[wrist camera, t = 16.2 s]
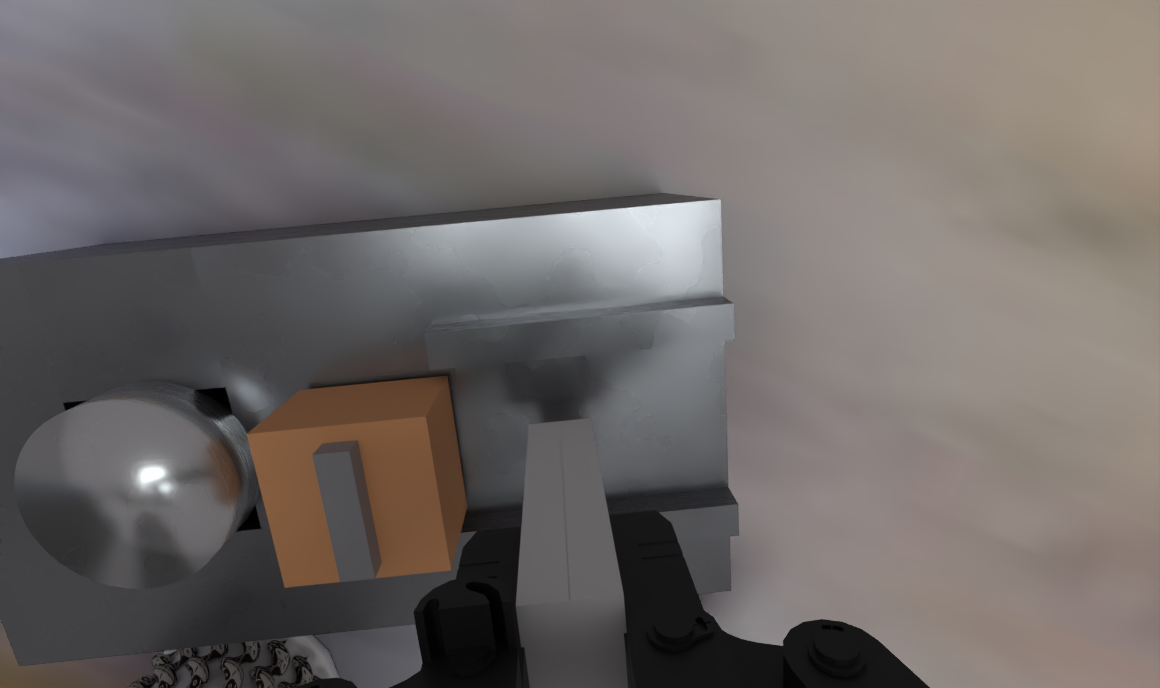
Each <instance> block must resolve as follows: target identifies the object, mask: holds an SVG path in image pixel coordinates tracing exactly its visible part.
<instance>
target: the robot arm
mask: <svg viewBox="0 0 1160 688" xmlns="http://www.w3.org/2000/svg"><path fill="white" fill-rule="evenodd" d="M413 613H414V619H415V624H416V629H417V635H418V640H419V646H420V651H421V656H422V662H423V664H422V668H421V670H420V671H419V672H418V673H416V674H415V675H413V676H412V677H410V678H409V679H407V680H405V681H403V682H401V683H399V684H397V685H394V686H392V687H390V688H930V687H928V686H927V685H926V684H925V683H924V682H923V681H922V680H921V679H920V678H919V677H918V676H916V675H915V674H914V673H913V672H912V671H911V670H910V669H909V668H908V667H907V666H906V665H904V664H903V663H902V662H901V661H900V660H899V659H898V658H897V657H896V656H895V655H893V654H892V653H891V652H890V651H889V650H888V649H887V648H886V647H885V646H884V645H883V644H881V643H880V642H879V641H878V640H877V639H875V638H874V637H872V636H871V635H869V634H868V633H866V632H865V631H863V630H862V629H860V628H857V627H854V626H852V625H849V624H846V623H844V622H839V621H831V620H823V619H821V620H814V621H807V622H803V623H801V624H799V625H798V626H796V627H794V628H792V629H790V631H789V633H788V634H787V636H786V637H785V639H784V640H783V646H778V645H771V644H763V643H756V642H752V641H747V640H743V639H740V638H737V637H735V636H732V635H730V634H728V633H726V632H724V631H723V630H721V628H720V626H719V625H718V623H717V622H716V620H715V619H714V618H713V616H711V615H710V614H708V613H707V612H705V611H704V609H703V607H702V604H701V601H700V599H699V596H698V593H697V591H696V588H695V585H694V582H693V580H692V577H691V574H690V572H689V569H688V566H687V563H686V561H685V558H684V557H683V553H682V550H681V547H680V544H679V543H678V539H677V536H676V534H675V531H674V528H673V525H672V523H671V522H670V521H669V520H667V519H666V518H665V517H664V516H662V515H661V514H660V513H659V512H658V511H656V510H652V511H643V512H633V513H624V514H615V515H609V514H608V508H607V503H606V498H605V492H604V487H603V482H602V476H601V471H600V466H599V461H598V455H597V450H596V445H595V439H594V434H593V429H592V423H591V418H586V419H577V420H567V421H557V422H547V423H538V424H529V428H528V442H527V456H526V470H525V484H524V498H523V512H522V526H520V527H511V528H502V529H492V530H483V531H477V532H476V533H475V534H474V535H473V536H472V538H471V539H470V540H469V541H468V542H467V543H466V545H465V546H464V547H463V549H462V554H461V558H460V562H459V569H458V571H457V575H456V579H455V580H450V581H448V582H446V583H444V584H442V585H440V586H438V587H436V588H434V589H433V590H431V591H430V592H429V593H428V594H427V595H425V596H424V597H423V598H422V599H421V600H420V602H419V603H418V605H417V607H416V608H415V610H414V612H413ZM296 688H357V687H356V686H355V685H354V683H353V682H351V681H348V680H344V679H341V678H325V679H317V680H315V681H312V682H309V683H306V684H303V685H300V686H298V687H296Z"/></svg>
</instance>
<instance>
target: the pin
mask: <svg viewBox="0 0 1160 688" xmlns="http://www.w3.org/2000/svg"><path fill="white" fill-rule="evenodd" d="M247 434H248V433H247V432H246V430H245V429H244V427H243V426H242V425H241V424H240V422H239V421H238V420H237V419H236V418H235V417H234V416H233V414H232V410H231V406H230V402H229V398H228V394H227V390H226V387H220V388H210V389H200V390H194V389H192V388H189V387H185V386H182V385H179V384H174V383H169V382H160V381H140V382H134V383H128V384H125V385H121V386H118V387H115V388H113V389H111V390H109V391H107V392H105V393H102V394H100V395H98V396H96V397H94V398H92V399H90V400H88V401H86V402H84V403H81V404H79V405H77V406H75V407H73V408H71V409H69V410H67V411H65V412H62V413H60V414H58V415H56V416H54V417H53V418H51V419H49V420H48V421H46V422H45V423H43V424H42V425H41V426H40V427H39V428H38V429H37V430H35V431H34V433H33V434H32V435H31V436H30V437H29V439H28V440H27V441H26V443H25V445H24V447H23V448H22V450H21V452H20V455H19V458H18V460H17V463H16V469H15V474H14V488H15V496H16V501H17V504H18V508H19V511H20V513H21V516H22V518H23V520H24V522H25V524H26V526H27V527H28V529H29V531H30V532H31V534H32V535H33V537H34V538H35V539H36V540H37V542H38V543H39V544H40V545H41V546H42V547H43V548H44V549H45V550H46V551H47V552H48V553H49V554H50V555H51V556H52V557H53V558H55V559H56V560H57V561H58V562H60V563H61V564H62V565H64V566H66V567H67V568H69V569H70V570H72V571H74V572H76V573H78V574H79V575H81V576H83V577H86V578H88V579H91V580H93V581H96V582H99V583H103V584H106V585H110V586H115V587H121V588H132V589H145V588H155V587H161V586H166V585H169V584H173V583H176V582H178V581H181V580H183V579H185V578H187V577H189V576H191V575H192V574H194V573H196V572H197V571H199V570H200V569H201V568H202V567H203V566H205V565H206V564H207V563H208V562H209V561H210V560H211V558H212V557H213V556H214V555H215V554H216V553H217V552H218V551H219V550H220V548H221V547H222V546H223V545H224V544H225V543H226V542H227V541H228V540H229V538H230V537H231V536H232V535H233V534H234V533H235V532H236V531H237V530H238V528H239V527H240V526H241V525H242V524H243V523H244V522H245V521H246V520H247V518H248V517H249V515H250V514H251V512H252V511H253V508H254V506H255V504H256V502H257V499H258V495H259V492H260V486H259V482H258V478H257V474H256V470H255V466H254V462H253V458H252V454H251V449H250V445H249V441H248V437H247Z"/></svg>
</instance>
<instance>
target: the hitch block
mask: <svg viewBox="0 0 1160 688" xmlns="http://www.w3.org/2000/svg"><path fill="white" fill-rule="evenodd" d="M727 341H735V339H734V303H732V302H731V301H729V300H728V299H726V298H725V297H723V271H722V234H721V199H714V198H704V197H695V196H686V195H676V194H667V193H659V194H648V195H637V196H626V197H615V198H604V199H593V200H582V201H571V202H560V203H549V204H538V205H527V206H516V207H506V208H495V209H484V210H473V211H462V212H451V213H440V214H429V215H418V216H407V217H396V218H385V219H374V220H363V221H353V222H342V223H331V224H320V225H309V226H298V227H287V228H276V229H265V230H254V231H243V232H232V233H221V234H210V235H200V236H189V237H178V238H167V239H156V240H145V241H134V242H123V243H112V244H101V245H94V246H87V247H80V248H73V249H66V250H59V251H52V252H45V253H38V254H31V255H24V256H17V257H9V258H2V259H0V619H1V621H2V624H3V626H4V629H5V631H6V634H7V637H8V639H9V642H10V644H11V647H12V649H13V652H14V654H15V657H16V659H17V662H18V664H19V666H25V665H35V664H44V663H53V662H63V661H72V660H82V659H91V658H100V657H110V656H119V655H129V654H138V653H148V652H157V651H166V650H176V649H185V648H195V647H204V646H213V645H223V644H232V643H242V642H251V641H261V640H270V639H279V638H289V637H298V636H308V635H317V634H326V633H336V632H345V631H355V630H364V629H374V628H383V627H392V626H402V625H411V624H415V619H414V613H413V612H414V610H415V608H416V607H417V605H418V603H419V602H420V600H421V599H422V598H423V597H424V596H425V595H427V594H428V593H429V592H430V591H431V590H433V589H434V588H436V587H438V586H440V585H442V584H444V583H446V582H448V581H450V580H455V579H456V575H457V571H458V569H459V562H460V558H461V554H462V549H463V547H464V546H465V545H466V543H467V542H468V541H469V540H470V539H471V538H472V536H473V535H474V534H475V533H476V532H477V531H483V530H492V529H502V528H511V527H520V526H522V512H523V498H524V484H525V470H526V456H527V442H528V428H529V424H538V423H547V422H557V421H567V420H577V419H586V418H591V423H592V429H593V434H594V439H595V445H596V450H597V455H598V461H599V466H600V471H601V476H602V482H603V487H604V492H605V498H606V503H607V508H608V514H609V515H615V514H624V513H633V512H643V511H652V510H656V511H658V512H659V513H660V514H661V515H662V516H664V517H665V518H666V519H667V520H669V521H670V522H671V523H672V525H673V528H674V531H675V534H676V536H677V539H678V543H679V544H680V547H681V550H682V553H683V557H684V558H685V561H686V563H687V566H688V569H689V572H690V574H691V577H692V580H693V582H694V585H695V588H696V591H697V593H698V594H703V593H713V592H722V591H731V569H730V536H738V535H739V517H738V503H737V501H736V500H735V498H734V496H733V494H732V493H731V491H730V489H729V488H728V457H727V420H726V383H725V346H724V342H727ZM438 376H448V383H449V389H450V396H451V402H452V409H453V416H454V422H455V429H456V435H457V442H458V449H459V455H460V462H461V468H462V475H463V482H464V488H465V495H466V501H467V510H466V514H465V518H464V522H463V525H462V529H461V533H460V537H459V541H458V545H457V549H456V553H455V557H454V561H453V565H452V568H451V570H450V571H440V572H431V573H421V574H412V575H402V576H392V577H383V578H375V579H366V580H357V581H347V582H335V583H325V584H316V585H306V586H297V587H287V588H285V587H284V583H283V579H282V575H281V571H280V567H279V562H278V558H277V554H276V550H275V546H274V542H273V538H272V534H271V530H270V526H269V522H268V518H267V514H266V510H265V506H264V502H263V498H262V494H261V490H260V492H259V495H258V499H257V502H256V504H255V506H254V508H253V511H252V512H251V514H250V515H249V517H248V518H247V520H246V521H245V522H244V523H243V524H242V525H241V526H240V527H239V528H238V530H237V531H236V532H235V533H234V534H233V535H232V536H231V537H230V538H229V540H228V541H227V542H226V543H225V544H224V545H223V546H222V547H221V548H220V550H219V551H218V552H217V553H216V554H215V555H214V556H213V557H212V558H211V560H210V561H209V562H208V563H207V564H206V565H205V566H203V567H202V568H201V569H200V570H199V571H197V572H196V573H194V574H192V575H191V576H189V577H187V578H185V579H183V580H181V581H178V582H176V583H173V584H169V585H166V586H161V587H155V588H145V589H132V588H121V587H115V586H110V585H106V584H103V583H99V582H96V581H93V580H91V579H88V578H86V577H83V576H81V575H79V574H78V573H76V572H74V571H72V570H70V569H69V568H67V567H66V566H64V565H62V564H61V563H60V562H58V561H57V560H56V559H55V558H53V557H52V556H51V555H50V554H49V553H48V552H47V551H46V550H45V549H44V548H43V547H42V546H41V545H40V544H39V543H38V542H37V540H36V539H35V538H34V537H33V535H32V534H31V532H30V531H29V529H28V527H27V526H26V524H25V522H24V520H23V518H22V516H21V513H20V511H19V508H18V504H17V501H16V496H15V488H14V474H15V469H16V463H17V460H18V458H19V455H20V452H21V450H22V448H23V447H24V445H25V443H26V441H27V440H28V439H29V437H30V436H31V435H32V434H33V433H34V431H35V430H37V429H38V428H39V427H40V426H41V425H42V424H43V423H45V422H46V421H48V420H49V419H51V418H53V417H54V416H56V415H58V414H60V413H62V412H65V411H67V410H69V409H71V408H73V407H75V406H77V405H79V404H81V403H84V402H86V401H88V400H90V399H92V398H94V397H96V396H98V395H100V394H102V393H105V392H107V391H109V390H111V389H113V388H115V387H118V386H121V385H125V384H128V383H134V382H140V381H160V382H169V383H174V384H179V385H182V386H185V387H189V388H192V389H194V390H200V389H210V388H220V387H226V390H227V394H228V398H229V402H230V406H231V410H232V414H233V416H234V417H235V418H236V419H237V420H238V421H239V422H240V424H241V425H242V426H243V427H244V429H245V430H246V432H247V433H249V432H250V431H251V430H252V429H254V428H255V427H256V426H257V425H258V424H260V423H261V422H262V421H263V420H264V419H266V418H267V417H268V416H269V415H270V414H272V413H273V412H274V411H275V410H276V409H278V408H279V407H280V406H281V405H282V404H284V403H285V402H286V401H287V400H288V399H290V398H291V397H292V396H293V395H294V394H296V393H297V392H298V391H299V390H305V389H315V388H325V387H336V386H346V385H356V384H366V383H377V382H387V381H397V380H408V379H418V378H428V377H438Z"/></svg>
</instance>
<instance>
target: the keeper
mask: <svg viewBox="0 0 1160 688" xmlns="http://www.w3.org/2000/svg"><path fill="white" fill-rule="evenodd" d="M247 437H248V441H249V445H250V449H251V454H252V458H253V462H254V466H255V470H256V474H257V478H258V482H259V486H260V490H261V494H262V498H263V502H264V506H265V510H266V514H267V518H268V522H269V526H270V530H271V534H272V538H273V542H274V546H275V550H276V554H277V558H278V562H279V567H280V571H281V575H282V579H283V583H284V587H285V588H287V587H297V586H306V585H316V584H325V583H335V582H347V581H357V580H366V579H375V578H383V577H392V576H402V575H412V574H421V573H431V572H440V571H450V570H451V568H452V565H453V561H454V557H455V553H456V549H457V545H458V541H459V537H460V533H461V529H462V525H463V522H464V518H465V514H466V510H467V501H466V495H465V488H464V482H463V475H462V468H461V462H460V455H459V449H458V442H457V435H456V429H455V422H454V416H453V409H452V402H451V396H450V389H449V383H448V376H438V377H428V378H418V379H408V380H397V381H387V382H377V383H366V384H356V385H346V386H336V387H325V388H315V389H305V390H299V391H298V392H297V393H296V394H294V395H293V396H292V397H291V398H290V399H288V400H287V401H286V402H285V403H284V404H282V405H281V406H280V407H279V408H278V409H276V410H275V411H274V412H273V413H272V414H270V415H269V416H268V417H267V418H266V419H264V420H263V421H262V422H261V423H260V424H258V425H257V426H256V427H255V428H254V429H252V430H251V431H250V432H249V433H248V434H247Z"/></svg>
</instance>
